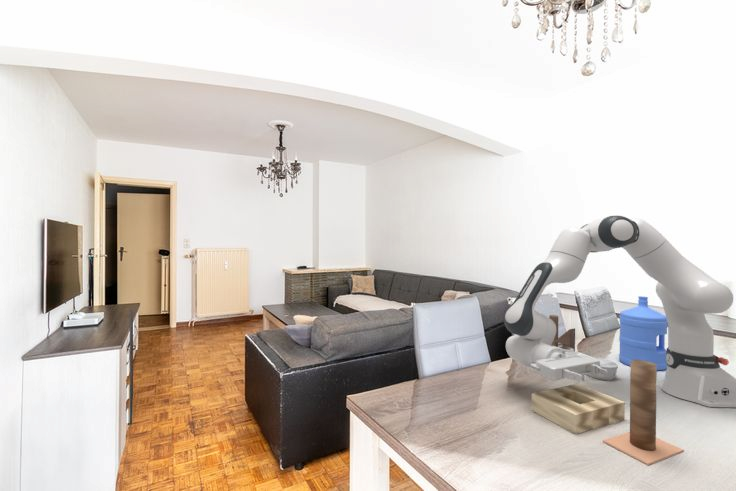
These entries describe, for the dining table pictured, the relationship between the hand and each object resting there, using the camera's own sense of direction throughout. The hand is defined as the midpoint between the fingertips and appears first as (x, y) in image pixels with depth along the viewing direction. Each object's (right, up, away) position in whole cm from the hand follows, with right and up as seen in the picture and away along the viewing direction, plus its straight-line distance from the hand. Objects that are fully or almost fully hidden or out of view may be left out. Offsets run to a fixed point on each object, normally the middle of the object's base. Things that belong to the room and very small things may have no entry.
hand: (594, 376), depth 96 cm
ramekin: (+25, -13, +36) cm, 46 cm away
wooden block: (+21, -13, +55) cm, 60 cm away
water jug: (+51, -14, +49) cm, 72 cm away
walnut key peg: (+5, -13, -11) cm, 17 cm away
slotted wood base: (-2, -13, +5) cm, 14 cm away
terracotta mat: (+5, -13, -11) cm, 18 cm away
